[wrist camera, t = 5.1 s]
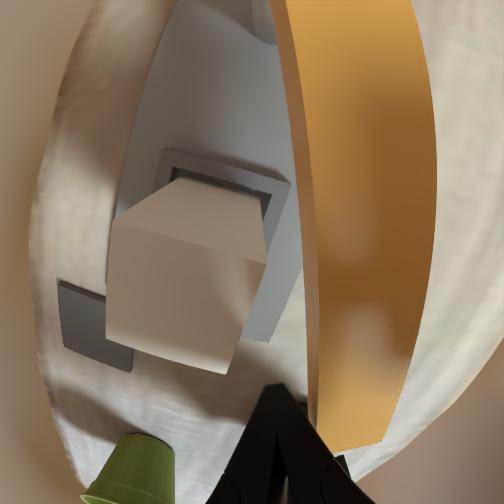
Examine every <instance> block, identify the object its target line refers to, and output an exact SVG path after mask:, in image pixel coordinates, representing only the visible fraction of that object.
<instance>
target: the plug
mask: <svg viewBox="0 0 504 504" xmlns="http://www.w3.org/2000/svg"><path fill="white" fill-rule="evenodd" d="M266 266H267V260H266V251H265V241H264V232H263V223H262V214H261V205H260V196H258V195H254V194H251V193H248V192H244V191H241V190H238V189H234V188H231V187H227V186H224V185H220V184H217V183H213V182H209V181H206V180H202V179H198V178H195V177H191V176H187V175H183V176H181V177H180V178H178V179H176V180H174V181H173V182H171V183H169V184H168V185H166V186H164V187H163V188H161V189H160V190H158V191H156V192H155V193H153V194H151V195H150V196H148V197H147V198H145V199H144V200H142V201H140V202H139V203H137V204H136V205H134V206H133V207H131V208H130V209H128V210H127V211H125V212H124V213H122V214H121V215H119V216H118V217H116V218H115V219H113V220H112V227H111V236H110V245H109V256H108V269H107V287H106V339H109V340H111V341H114V342H117V343H119V344H122V345H125V346H128V347H131V348H134V349H137V350H140V351H143V352H146V353H149V354H152V355H155V356H158V357H162V358H165V359H168V360H172V361H175V362H179V363H182V364H186V365H189V366H193V367H197V368H201V369H205V370H209V371H213V372H217V373H221V374H225V375H226V373H227V370H228V368H229V365H230V363H231V360H232V357H233V355H234V352H235V349H236V347H237V344H238V341H239V339H240V336H241V334H242V331H243V328H244V326H245V323H246V320H247V318H248V315H249V312H250V309H251V307H252V304H253V301H254V299H255V296H256V293H257V290H258V288H259V285H260V282H261V280H262V277H263V274H264V271H265V269H266Z"/></svg>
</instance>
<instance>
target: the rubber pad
mask: <svg viewBox="0 0 504 504" xmlns="http://www.w3.org/2000/svg"><path fill="white" fill-rule="evenodd" d="M58 300H59V311H60V320H61V329H62V336H63V343H64V347H66V348H68V349H71V350H73V351H75V352H77V353H80V354H82V355H84V356H87V357H89V358H91V359H94V360H96V361H99V362H101V363H104V364H107V365H109V366H112V367H114V368H117V369H120V370H123V371H125V372H128V373H131V370H132V362H133V348H131V347H128V346H125V345H122V344H119V343H117V342H114V341H111V340H109V339H106V298H104V297H101V296H98V295H95V294H93V293H90V292H87V291H85V290H82V289H80V288H77V287H74V286H72V285H69V284H67V283H64V282H62V281H61V282H60V283H59V284H58Z"/></svg>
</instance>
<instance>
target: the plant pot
mask: <svg viewBox="0 0 504 504" xmlns="http://www.w3.org/2000/svg"><path fill="white" fill-rule="evenodd" d="M80 498H81V499H82V500H83V501H85V502H86V503H87V504H175V453H174V451H173V450H172V449H170V448H169V447H168V446H167V445H166V444H165V443H164V442H162V441H160V440H158V439H155V438H153V437H150V436H148V435H144V434H138V433H136V434H124V435H123V436H122V437H121V439H120V440H119V442H118V444H117V445H116V447H115V449H114V450H113V452H112V454H111V455H110V457H109V459H108V460H107V462H106V464H105V465H104V467H103V469H102V470H101V472H100V474H99V475H98V477H97V478H96V480H95V481H93V482H92V484H91V485H90V487H89V488H88V490H87V491H86V493H81V494H80Z"/></svg>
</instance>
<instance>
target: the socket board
mask: <svg viewBox="0 0 504 504" xmlns="http://www.w3.org/2000/svg"><path fill="white" fill-rule="evenodd" d="M183 175H187V176H191V177H195V178H198V179H202V180H206V181H209V182H213V183H217V184H220V185H224V186H227V187H231V188H234V189H238V190H241V191H244V192H248V193H251V194H254V195H258V196H260V205H261V214H262V223H263V232H264V241H265V251H266V260H267V266H266V269H265V271H264V274H263V277H262V280H261V282H260V285H259V288H258V290H257V293H256V296H255V299H254V301H253V304H252V307H251V309H250V312H249V315H248V318H247V320H246V323H245V326H244V328H243V331H242V334H241V337H245V338H249V339H254V340H258V341H262V342H267V343H269V341H270V339H271V337H272V335H273V333H274V330H275V328H276V326H277V324H278V321H279V319H280V317H281V315H282V312H283V310H284V308H285V305H286V303H287V301H288V298H289V296H290V294H291V291H292V289H293V287H294V284H295V282H296V280H297V277H298V275H299V272H300V270H301V267H302V265H303V255H302V241H301V228H300V216H299V205H298V195H297V184H296V175H295V165H294V156H293V148H292V140H291V131H290V124H289V116H288V109H287V102H286V95H285V88H284V81H283V75H282V68H281V62H280V56H279V50H278V44H277V39H276V33H275V28H274V22H273V17H272V12H271V7H270V2H269V0H177V2H176V4H175V6H174V8H173V11H172V13H171V15H170V17H169V20H168V22H167V24H166V27H165V29H164V32H163V34H162V37H161V39H160V42H159V44H158V47H157V50H156V52H155V55H154V58H153V61H152V63H151V66H150V69H149V72H148V75H147V78H146V81H145V84H144V88H143V91H142V94H141V98H140V101H139V104H138V108H137V112H136V115H135V119H134V123H133V127H132V131H131V135H130V139H129V143H128V148H127V152H126V157H125V162H124V167H123V172H122V177H121V183H120V188H119V194H118V200H117V207H116V214H115V218H116V217H118V216H119V215H121V214H122V213H124V212H125V211H127V210H128V209H130V208H131V207H133V206H134V205H136V204H137V203H139V202H140V201H142V200H144V199H145V198H147V197H148V196H150V195H151V194H153V193H155V192H156V191H158V190H160V189H161V188H163V187H164V186H166V185H168V184H169V183H171V182H173V181H174V180H176V179H178V178H180V177H181V176H183Z"/></svg>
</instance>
